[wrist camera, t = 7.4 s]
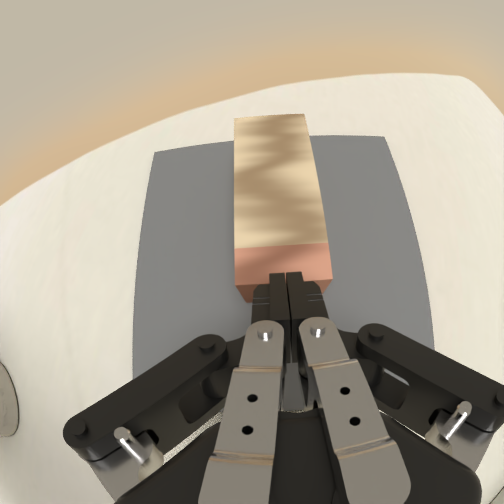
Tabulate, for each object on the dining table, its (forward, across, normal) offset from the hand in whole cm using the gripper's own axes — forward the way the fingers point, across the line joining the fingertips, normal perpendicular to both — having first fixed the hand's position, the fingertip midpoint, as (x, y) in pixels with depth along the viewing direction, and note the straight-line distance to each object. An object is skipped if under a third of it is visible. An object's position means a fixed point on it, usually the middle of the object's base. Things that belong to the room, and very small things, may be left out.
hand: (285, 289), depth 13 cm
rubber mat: (+7, 0, +2) cm, 8 cm away
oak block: (+3, 0, +2) cm, 3 cm away
